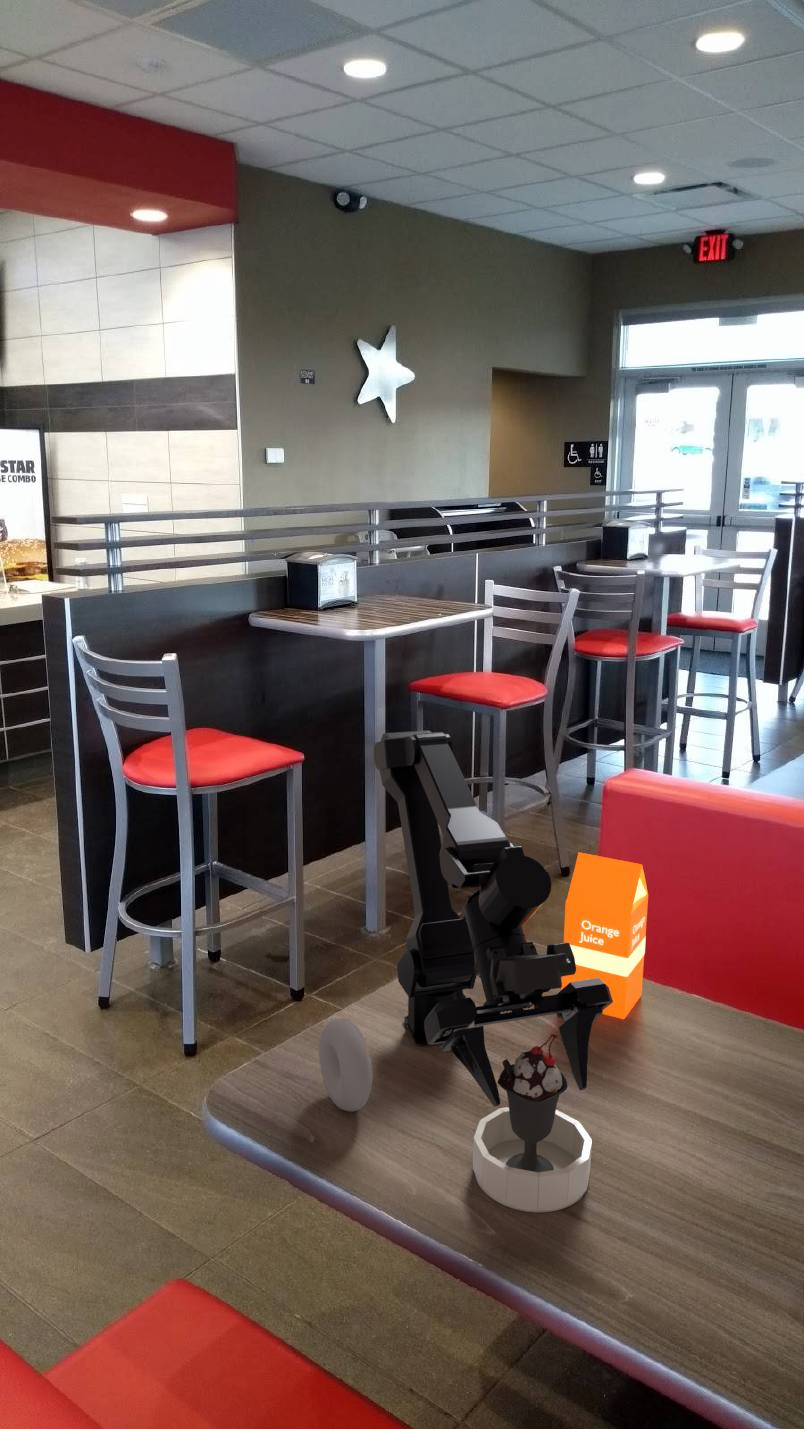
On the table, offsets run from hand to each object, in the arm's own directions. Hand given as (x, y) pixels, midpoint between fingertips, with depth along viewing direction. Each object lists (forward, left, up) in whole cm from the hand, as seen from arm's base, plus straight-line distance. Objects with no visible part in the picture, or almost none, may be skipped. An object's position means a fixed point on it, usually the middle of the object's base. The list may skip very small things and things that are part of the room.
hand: (540, 1097), depth 105 cm
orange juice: (+22, +33, -10) cm, 41 cm away
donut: (-16, +17, -10) cm, 26 cm away
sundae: (0, +1, -9) cm, 9 cm away
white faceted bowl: (0, +1, -10) cm, 10 cm away
